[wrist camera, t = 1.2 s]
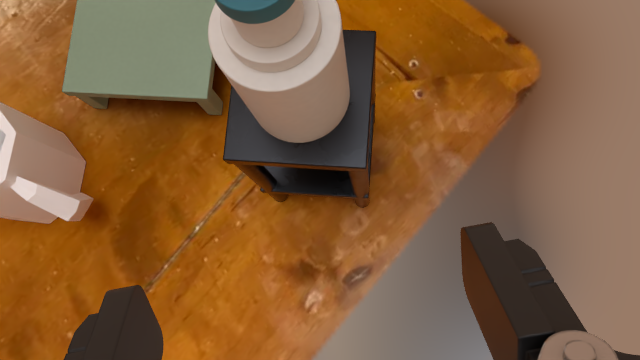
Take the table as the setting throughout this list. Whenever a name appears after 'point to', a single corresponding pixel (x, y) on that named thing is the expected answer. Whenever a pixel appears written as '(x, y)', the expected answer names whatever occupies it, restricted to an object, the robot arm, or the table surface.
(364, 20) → the table surface
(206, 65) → the low green table
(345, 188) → the black tiered rack
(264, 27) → the bottle
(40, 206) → the mug
